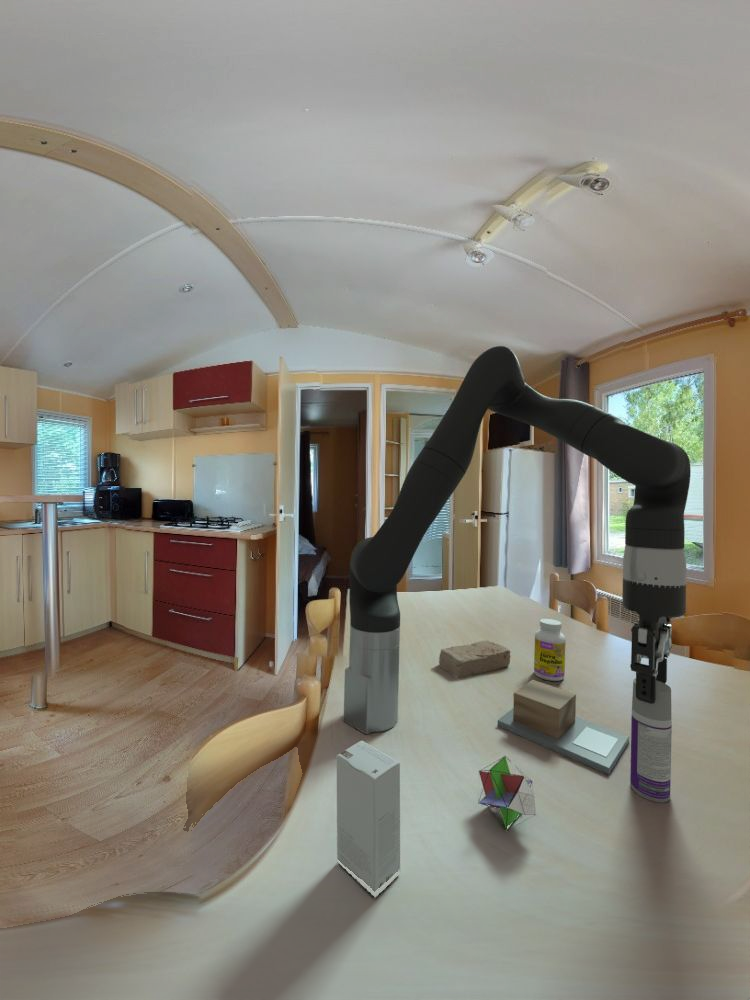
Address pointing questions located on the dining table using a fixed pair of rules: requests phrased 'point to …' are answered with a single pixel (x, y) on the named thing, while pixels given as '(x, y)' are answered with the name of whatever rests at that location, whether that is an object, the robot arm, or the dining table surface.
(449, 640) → the dining table surface
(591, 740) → the slate board
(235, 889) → the dining table surface
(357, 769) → the skincare box
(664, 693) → the container
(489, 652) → the brick
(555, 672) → the supplement bottle
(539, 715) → the walnut plinth
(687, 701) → the dining table surface
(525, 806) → the geometric puzzle
